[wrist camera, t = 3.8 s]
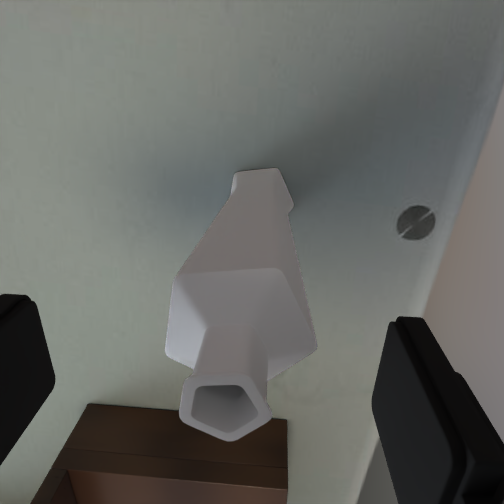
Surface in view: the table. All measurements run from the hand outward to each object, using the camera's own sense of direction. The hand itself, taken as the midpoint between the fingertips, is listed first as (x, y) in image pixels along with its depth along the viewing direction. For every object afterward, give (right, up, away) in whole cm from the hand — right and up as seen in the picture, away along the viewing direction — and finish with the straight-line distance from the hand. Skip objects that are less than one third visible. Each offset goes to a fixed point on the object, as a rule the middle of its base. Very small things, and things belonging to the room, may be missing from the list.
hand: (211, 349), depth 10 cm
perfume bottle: (+1, +6, +12) cm, 13 cm away
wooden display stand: (-4, -20, +25) cm, 32 cm away
